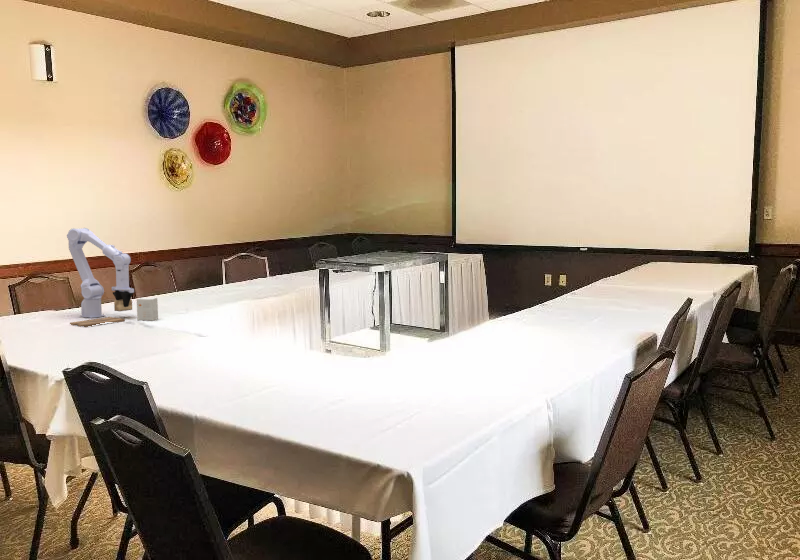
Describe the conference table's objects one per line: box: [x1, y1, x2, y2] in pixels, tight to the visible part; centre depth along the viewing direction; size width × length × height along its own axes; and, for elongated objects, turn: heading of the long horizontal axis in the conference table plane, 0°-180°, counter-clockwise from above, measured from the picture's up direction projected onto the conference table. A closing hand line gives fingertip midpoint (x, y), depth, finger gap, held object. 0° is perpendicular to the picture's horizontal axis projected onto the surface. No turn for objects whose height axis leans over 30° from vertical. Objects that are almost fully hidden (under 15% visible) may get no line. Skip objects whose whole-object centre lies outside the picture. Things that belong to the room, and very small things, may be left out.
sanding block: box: [113, 299, 133, 312], centre depth 320 cm, size 4×7×5 cm, turn 149°
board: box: [69, 316, 126, 328], centre depth 305 cm, size 12×20×1 cm, turn 149°
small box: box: [136, 297, 159, 322], centre depth 315 cm, size 8×6×10 cm
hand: (123, 306), depth 320 cm, fingers closed on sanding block, 4 cm apart
